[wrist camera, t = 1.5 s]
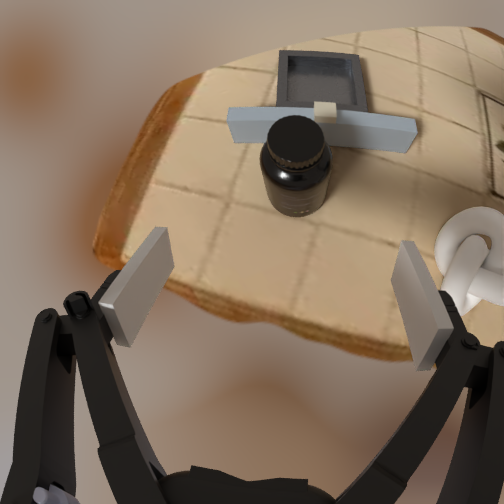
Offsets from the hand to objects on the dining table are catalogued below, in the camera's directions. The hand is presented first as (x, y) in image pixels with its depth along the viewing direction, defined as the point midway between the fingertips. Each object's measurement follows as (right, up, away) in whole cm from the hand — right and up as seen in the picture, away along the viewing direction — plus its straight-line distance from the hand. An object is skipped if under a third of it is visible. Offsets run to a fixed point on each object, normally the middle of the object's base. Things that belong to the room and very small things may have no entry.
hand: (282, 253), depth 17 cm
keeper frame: (+8, +23, +21) cm, 32 cm away
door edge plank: (+7, +14, +20) cm, 25 cm away
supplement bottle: (+4, +7, +19) cm, 20 cm away
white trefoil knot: (+23, -3, +14) cm, 27 cm away
